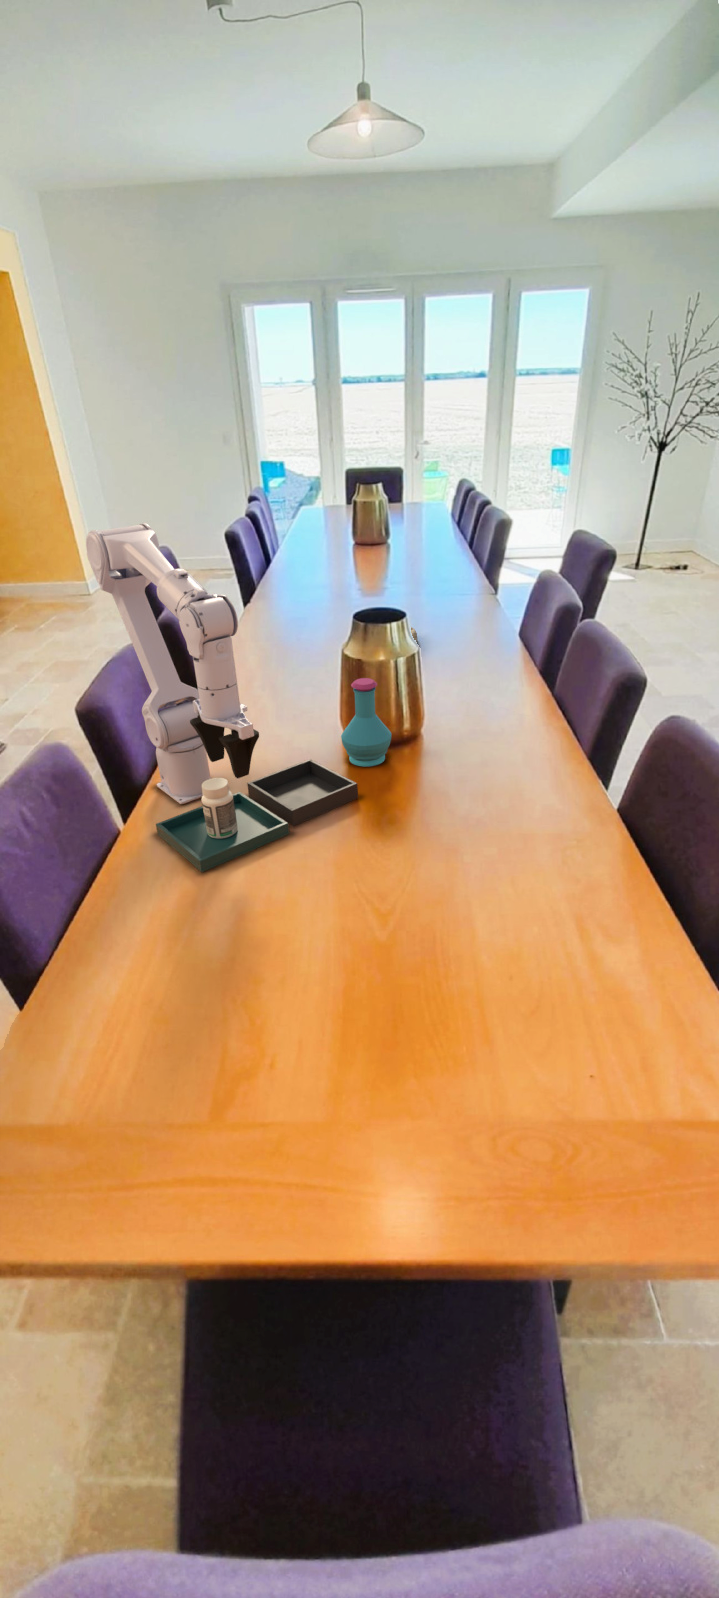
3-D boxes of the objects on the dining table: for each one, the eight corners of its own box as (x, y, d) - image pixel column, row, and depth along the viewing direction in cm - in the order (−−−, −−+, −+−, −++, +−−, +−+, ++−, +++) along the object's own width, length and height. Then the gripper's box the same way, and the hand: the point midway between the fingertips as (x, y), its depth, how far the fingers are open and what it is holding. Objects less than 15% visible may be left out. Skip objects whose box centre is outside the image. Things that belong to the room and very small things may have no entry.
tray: (157, 834, 112) (155, 823, 111) (241, 801, 121) (239, 791, 120) (201, 872, 103) (199, 861, 102) (289, 834, 111) (288, 823, 110)
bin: (248, 797, 122) (246, 782, 121) (311, 772, 129) (310, 758, 128) (293, 826, 113) (291, 810, 112) (358, 798, 120) (357, 783, 119)
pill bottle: (242, 824, 113) (235, 777, 109) (231, 840, 109) (224, 791, 105) (213, 822, 114) (206, 775, 110) (202, 838, 110) (194, 790, 106)
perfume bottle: (387, 771, 128) (385, 691, 121) (337, 768, 130) (332, 689, 123) (395, 749, 136) (394, 673, 129) (348, 747, 138) (344, 672, 131)
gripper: (267, 688, 101) (277, 774, 108) (217, 665, 111) (228, 745, 118) (223, 701, 97) (236, 790, 104) (175, 676, 107) (189, 758, 114)
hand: (229, 767), depth 111 cm, fingers open, 7 cm apart
